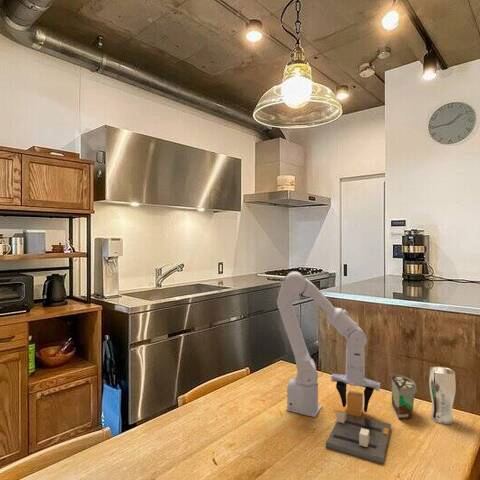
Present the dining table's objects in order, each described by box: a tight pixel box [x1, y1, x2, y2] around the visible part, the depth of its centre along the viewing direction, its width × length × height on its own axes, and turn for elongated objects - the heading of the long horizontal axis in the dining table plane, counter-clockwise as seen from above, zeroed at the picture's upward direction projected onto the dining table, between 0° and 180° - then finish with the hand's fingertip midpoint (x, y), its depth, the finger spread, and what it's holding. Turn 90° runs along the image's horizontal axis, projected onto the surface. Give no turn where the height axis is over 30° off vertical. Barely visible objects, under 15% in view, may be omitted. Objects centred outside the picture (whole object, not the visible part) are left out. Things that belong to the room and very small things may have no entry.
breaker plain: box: [359, 428, 369, 447], centre depth 92 cm, size 2×3×3 cm, turn 151°
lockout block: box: [346, 389, 364, 417], centre depth 112 cm, size 4×4×6 cm
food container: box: [390, 373, 418, 421], centre depth 112 cm, size 12×6×10 cm, turn 168°
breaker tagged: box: [336, 405, 347, 423], centre depth 104 cm, size 2×3×3 cm, turn 151°
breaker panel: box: [325, 413, 392, 465], centre depth 98 cm, size 14×18×2 cm
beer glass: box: [428, 366, 457, 425], centre depth 108 cm, size 7×7×15 cm
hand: (354, 408), depth 112 cm, fingers open, 6 cm apart
